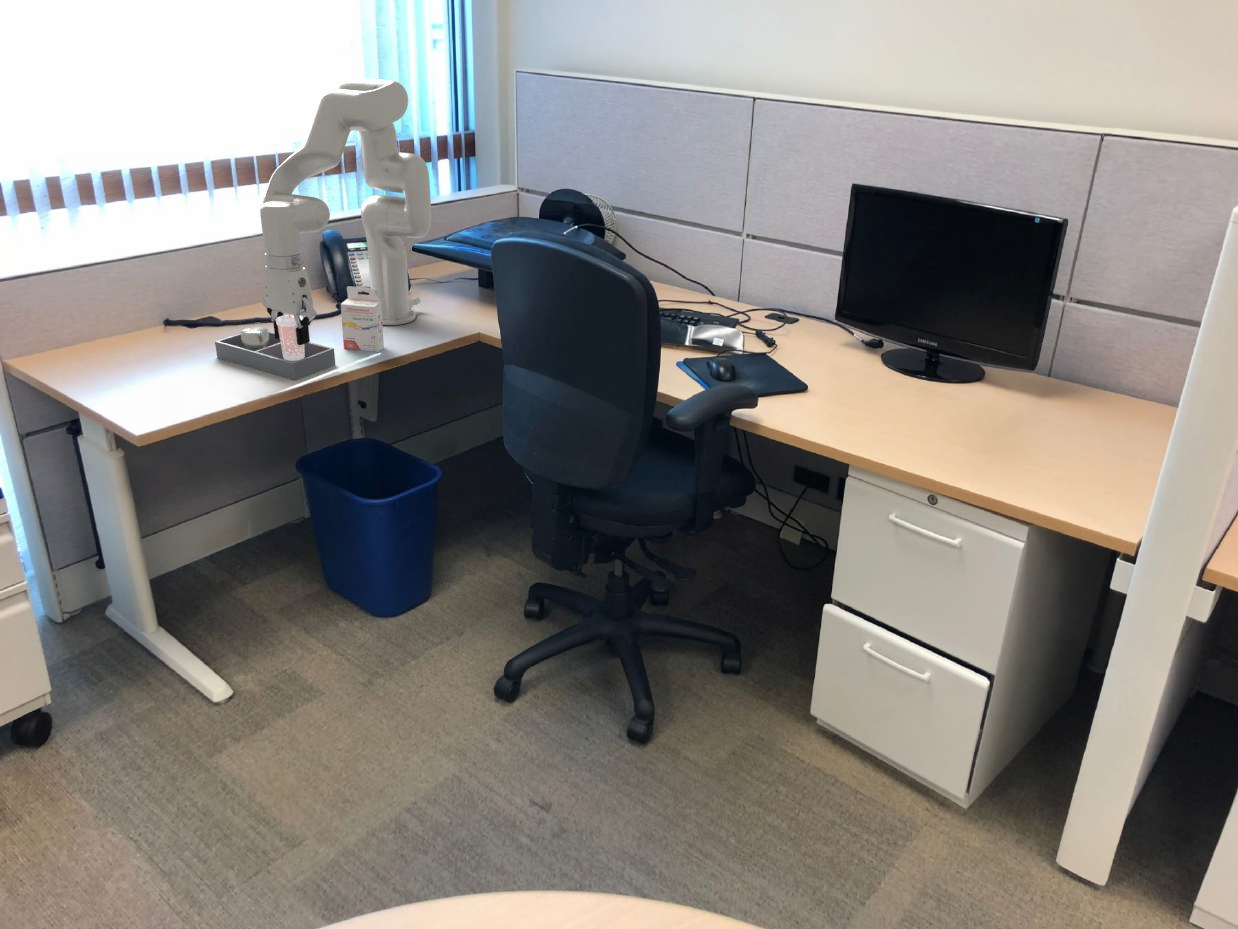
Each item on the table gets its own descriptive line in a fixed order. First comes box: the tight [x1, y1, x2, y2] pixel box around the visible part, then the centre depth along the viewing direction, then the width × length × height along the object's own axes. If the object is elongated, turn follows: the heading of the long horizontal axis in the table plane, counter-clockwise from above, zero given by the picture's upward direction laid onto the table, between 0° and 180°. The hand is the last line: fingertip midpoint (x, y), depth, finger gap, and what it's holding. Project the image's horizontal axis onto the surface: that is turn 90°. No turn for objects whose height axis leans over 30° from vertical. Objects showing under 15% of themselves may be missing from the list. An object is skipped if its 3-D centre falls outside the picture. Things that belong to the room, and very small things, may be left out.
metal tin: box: [240, 326, 270, 351], centre depth 229 cm, size 6×6×6 cm
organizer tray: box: [214, 330, 336, 381], centre depth 227 cm, size 12×25×4 cm, turn 60°
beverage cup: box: [275, 314, 305, 361], centre depth 221 cm, size 6×6×14 cm
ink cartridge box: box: [340, 285, 385, 354], centre depth 236 cm, size 9×5×15 cm, turn 84°
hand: (292, 339), depth 222 cm, fingers closed on beverage cup, 6 cm apart
